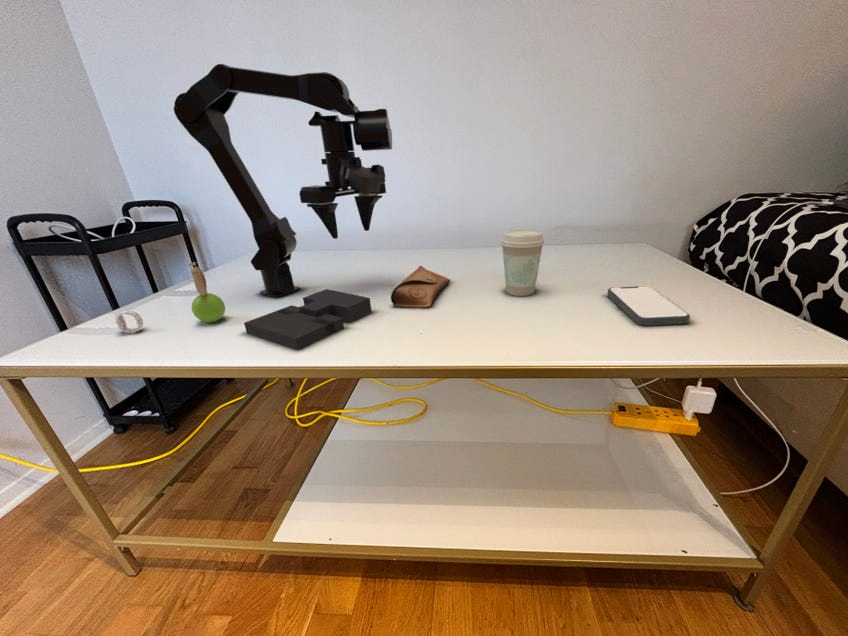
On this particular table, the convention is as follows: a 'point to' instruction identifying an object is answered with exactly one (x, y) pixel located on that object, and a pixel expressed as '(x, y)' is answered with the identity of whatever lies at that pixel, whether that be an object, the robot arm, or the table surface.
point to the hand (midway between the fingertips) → (351, 234)
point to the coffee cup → (521, 260)
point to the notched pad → (293, 327)
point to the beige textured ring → (122, 324)
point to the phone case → (647, 306)
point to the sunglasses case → (418, 289)
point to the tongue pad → (336, 305)
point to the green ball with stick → (205, 299)
